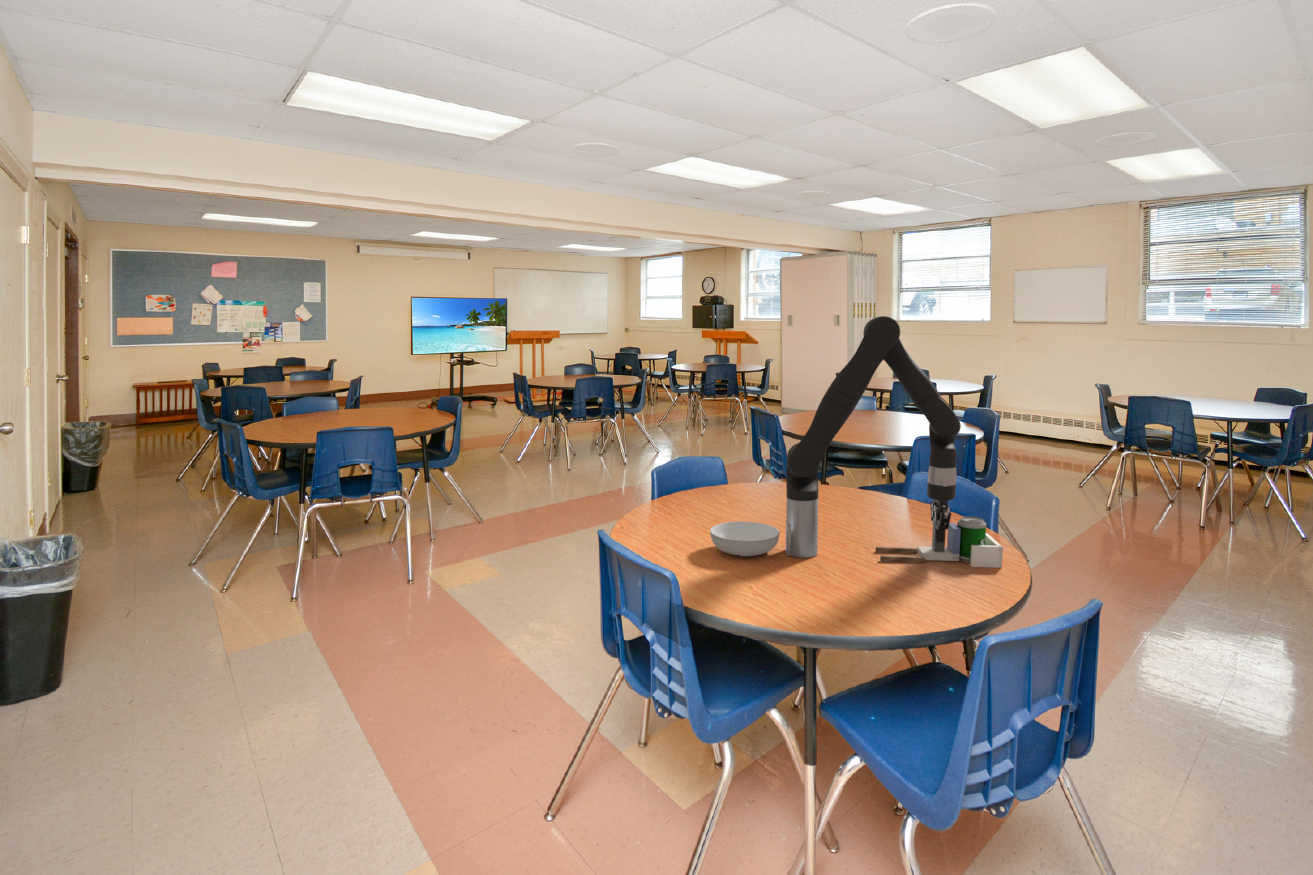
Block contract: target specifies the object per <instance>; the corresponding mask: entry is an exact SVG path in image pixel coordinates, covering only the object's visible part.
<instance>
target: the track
mask: <svg viewBox="0 0 1313 875" xmlns="http://www.w3.org/2000/svg"><path fill="white" fill-rule="evenodd" d="M875 553H876V554H906V555H879V556H880V558H879V559H880V562H881V563H882V562H883V563H911V564H914V563H916V564H925V562H926V560H925V558H924V557H920V556H914V555H918V547H897V546H896V547H893V546H891V547H890V546H888V547H887V546H875ZM907 554H910V555H911V556H907ZM912 555H913V556H912Z"/></svg>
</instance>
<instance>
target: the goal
mask: <svg viewBox="0 0 1313 875" xmlns="http://www.w3.org/2000/svg"><path fill="white" fill-rule="evenodd" d="M1003 555H1004V546H1003V545H1001V544H1000V543H999V542H998V541H997V540H996V539H994V538H993V537H992V536H991V535H990V534H989V533H987V532H986V537H985V545H971V560H970V565H969V567H971V568H998V569H1001V568H1003Z"/></svg>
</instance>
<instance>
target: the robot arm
mask: <svg viewBox="0 0 1313 875" xmlns="http://www.w3.org/2000/svg"><path fill="white" fill-rule="evenodd" d="M900 327H901V326H900V323H899V322H898V321H897V320H896V319H895V318H893V317H890V316H887V315H882V316H876V317H874V318H871V319H870V320H868V321H867V323H866V324H865V326H864V328H863V334H862V335H863V337H862V339H861V341H860V343H859V345H858V347H857V349H856V351H855V353H854V355H852V357H851V359H849V361H848V362H847V363H846V364H845V365H844V367H843V368H842V369H841V370H840V371H839V373H837V375H836V376H835V378H834V379H833V380H832V382H831V384H830V385H829V386H828V388H827V390H826V391H825V393H824V395H823V397H822V398H821V400H820V402H819V405H818V406H817V409H816V412H815V414H814V416H813V419H812V422H811V424H810V426H809V427H808V429H807V431H806V433H805V434H804V436H803V437H802V438H801V439H800V441H799V442H798V443H795V444H794V445H792V446H791V447H790V448H789V449H788V451H787V455H786V484H785V485H786V486H785V487H786V510H785V511H786V515H785V516H786V517H785V518H786V519H785V553H786V556H787V557H788V556H790V557H795V558H802V559H803V558H805V559H806V558H812V557H813V558H814V557H816V556H817V555H818V538H819V536H818V533H819V531H818V530H819V467H820V465H821V463H822V460H823V458H824V456H825V454H826V453H827V450H828V448H829V447H830V445H831V442H832V441H833V440H834V438H835V437H836V435H837V434H838V433H839V432H840V430H841V429H842V428H843V426H844V425H845V423H846V422H847V420H848V419H849V418H850V416H851V415H852V413H853V412H854V410H855V408H856V407H857V406H858V404H859V402H860V400H861V398H863V397H862V396H863V395H864V394H865V392H866V389H867V388H868V386H869V384H870V382H871V381H872V379H873V377H874V375H875V373H876V371H877V369H878V367H879V366H880V364H881V363H882V362H885V363H886V364H887V366H888V367H889V368H890V370H891V371H892V372H893V374H894V376H895V377H896V378H897V380H898V382H899V383H900V385H901V387H903V389H904V391H905V393H907V396H908V397H909V398H910V399H911V401H912V402H913V403H914V406H915V407H916V408H917V409H918V410H919V411H920V412H921V413H922V414H923V415H924V417H925V418H926V420H927V422H928V423H929V425H928V429H929V430H928V433H929V444H930V452H929V466H928V472H927V482H926V484H927V485H926V486H927V488H926V496H927V498H930V499H932V500H930V502H929V505H930V521H931V522H932V525H933V517H934V516H935V521H937V525H936V528H937V530H936V541H937V542H944V541H945V542H946V532H945V530H948V528H949V523H951V517H952V512H951V511H950V505H949V502H948V501H953V500H954V499H955V498H956V494H957V493H956V490H957V478H958V477H957V456H958V455H957V454H958V453H957V448H956V446H955V437H956V436H957V435H958V434H960V431H961V428H962V427H961V426H962V425H961V421H960V419H959V417H958V416H957V415H956V413H955V412H954V411H953V409H952V408H951V407H950V405H948V404H947V402H946V401H945V400H944V398H943V397H942V395H941V394H940V392H939V391H938V389H937V388H936V386H935V385H934V383H933V382H932V380H931V379H930V378H929V377H928V375H927V374H926V373H925V372H924V371H923V370H922V368H921V367H920V366H919V365H918V364H917V363H916V362H915V360H914V359H913V358H912V357H911V356H910V353H909V352H908V351H907V350H906V349H905V347H904V344H902V341H901V339H900V336H901V328H900ZM938 517H940V518H938ZM942 523H944V525H942Z"/></svg>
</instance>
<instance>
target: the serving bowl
mask: <svg viewBox="0 0 1313 875" xmlns="http://www.w3.org/2000/svg"><path fill="white" fill-rule="evenodd" d="M709 533H710V534H709V535H710V538H711V541H712V543H713V545H714V546H715V547H716V548H717V549H718V550H720V551H721V552H723V553H727V554H729V555H733V556H737V555H739V556H738V557H754V556H759V555H764V554H766V553H769V552H770V551H772V550H773V549H774V548H775V547H776V545H777V544H778V541H779V538H780V534H781V532H780V530H779V529H778V528H777V527H775V526H773V525H770V524H767V523H762V522H757V521H756V522H755V521H745V520H743V521H727V522H721V523H718V524H716V525H714V526H711V528H710V529H709Z"/></svg>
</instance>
